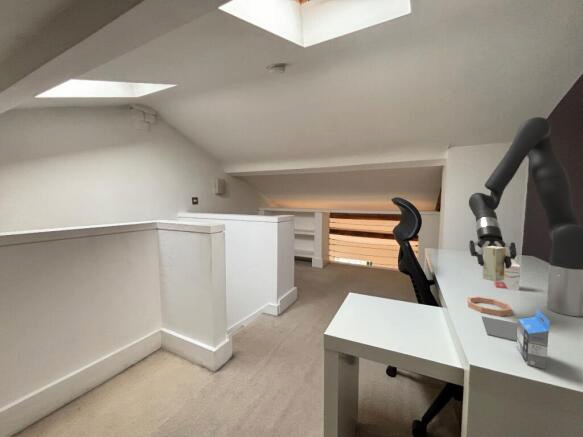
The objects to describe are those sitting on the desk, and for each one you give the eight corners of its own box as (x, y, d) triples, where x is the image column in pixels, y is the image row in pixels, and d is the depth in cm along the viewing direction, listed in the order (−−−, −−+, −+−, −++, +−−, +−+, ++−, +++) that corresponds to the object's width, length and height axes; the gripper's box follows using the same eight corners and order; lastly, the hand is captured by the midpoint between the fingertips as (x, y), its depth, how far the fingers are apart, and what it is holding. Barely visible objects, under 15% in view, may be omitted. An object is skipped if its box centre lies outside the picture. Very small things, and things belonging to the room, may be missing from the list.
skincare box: (495, 282, 86) (497, 248, 85) (481, 279, 90) (482, 246, 89) (504, 279, 89) (506, 247, 88) (490, 276, 93) (491, 245, 92)
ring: (506, 306, 96) (506, 301, 96) (513, 318, 85) (514, 313, 85) (466, 299, 103) (466, 294, 103) (469, 310, 92) (469, 305, 92)
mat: (527, 326, 80) (527, 325, 80) (541, 347, 68) (541, 346, 68) (481, 317, 86) (481, 316, 86) (487, 335, 74) (487, 333, 74)
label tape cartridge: (515, 347, 68) (517, 304, 68) (534, 351, 66) (536, 307, 66) (526, 365, 61) (528, 317, 60) (547, 370, 59) (550, 321, 58)
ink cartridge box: (495, 287, 117) (497, 257, 117) (494, 284, 122) (495, 255, 121) (519, 290, 113) (521, 259, 112) (516, 287, 117) (518, 257, 116)
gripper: (467, 224, 98) (472, 258, 89) (514, 225, 91) (524, 262, 82) (465, 235, 103) (469, 269, 93) (509, 237, 96) (518, 273, 87)
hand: (494, 265), depth 88 cm, fingers closed on skincare box, 7 cm apart
